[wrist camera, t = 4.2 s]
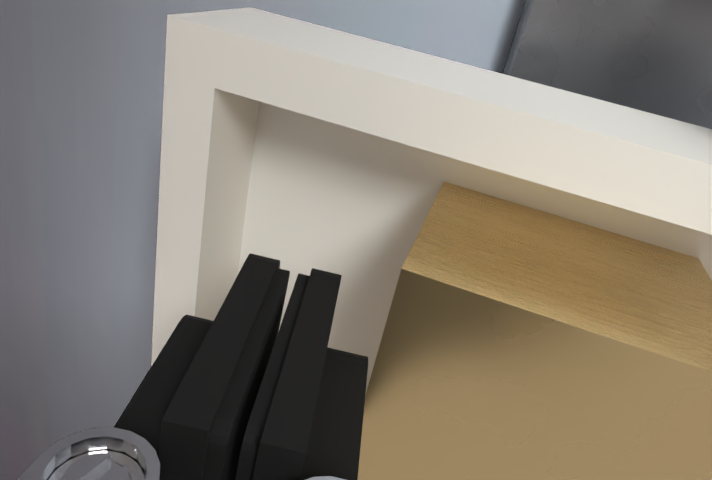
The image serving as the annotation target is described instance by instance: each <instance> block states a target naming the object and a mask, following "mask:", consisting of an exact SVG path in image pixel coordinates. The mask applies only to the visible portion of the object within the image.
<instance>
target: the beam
mask: <svg viewBox="0 0 712 480" xmlns="http://www.w3.org/2000/svg"><path fill="white" fill-rule="evenodd" d="M443 182H447V183H451V184H454V185H457V186H461V187H464V188H467V189H471V190H474V191H477V192H481V193H484V194H487V195H491V196H494V197H497V198H501V199H504V200H507V201H510V202H514V203H517V204H520V205H524V206H527V207H530V208H534V209H537V210H540V211H544V212H547V213H550V214H554V215H557V216H560V217H563V218H567V219H570V220H573V221H577V222H580V223H583V224H587V225H590V226H593V227H597V228H600V229H603V230H607V231H610V232H613V233H616V234H620V235H623V236H626V237H630V238H633V239H636V240H640V241H643V242H646V243H650V244H653V245H656V246H660V247H663V248H666V249H669V250H673V251H676V252H679V253H683V254H686V255H689V256H693V257H696V258H699V259H700V261H701V263H702V265H703V266H704V268H705V270H706V272H707V274H708V275H709V277H710V279H711V281H712V129H709V128H705V127H701V126H697V125H694V124H690V123H686V122H682V121H679V120H675V119H671V118H667V117H663V116H660V115H656V114H652V113H648V112H645V111H641V110H637V109H633V108H629V107H626V106H622V105H618V104H614V103H611V102H607V101H603V100H599V99H596V98H592V97H588V96H584V95H580V94H577V93H573V92H569V91H565V90H562V89H558V88H554V87H550V86H546V85H543V84H539V83H535V82H531V81H528V80H524V79H520V78H516V77H513V76H509V75H505V74H501V73H497V72H494V71H490V70H486V69H482V68H479V67H475V66H471V65H467V64H463V63H460V62H456V61H452V60H448V59H445V58H441V57H437V56H433V55H430V54H426V53H422V52H418V51H414V50H411V49H407V48H403V47H399V46H396V45H392V44H388V43H384V42H380V41H377V40H373V39H369V38H365V37H362V36H358V35H354V34H350V33H347V32H343V31H339V30H335V29H331V28H328V27H324V26H320V25H316V24H313V23H309V22H305V21H301V20H298V19H294V18H290V17H286V16H282V15H279V14H275V13H271V12H267V11H264V10H260V9H256V8H252V7H248V8H237V9H226V10H215V11H203V12H192V13H181V14H169V15H167V30H166V52H165V74H164V96H163V118H162V139H161V161H160V183H159V205H158V227H157V248H156V270H155V292H154V314H153V336H152V358H151V367H152V365H153V363H154V362H155V360H156V358H157V357H158V355H159V354H160V352H161V350H162V349H163V347H164V345H165V344H166V342H167V341H168V339H169V337H170V336H171V334H172V333H173V331H174V329H175V328H176V326H177V324H178V323H179V321H180V320H181V319H182V317H183V316H185V315H191V316H195V317H199V318H203V319H208V320H212V321H214V319H215V317H216V316H217V314H218V312H219V310H220V308H221V306H222V304H223V302H224V300H225V298H226V297H227V295H228V293H229V291H230V289H231V287H232V285H233V283H234V281H235V279H236V278H237V276H238V274H239V272H240V270H241V268H242V266H243V264H244V262H245V260H246V259H247V257H248V255H249V254H250V253H251V254H255V255H260V256H264V257H268V258H272V259H276V260H280V269H284V270H288V271H290V276H289V281H288V286H287V291H286V296H285V301H284V306H283V311H282V316H281V321H280V326H281V323H282V320H283V317H284V314H285V311H286V308H287V305H288V302H289V299H290V296H291V294H292V291H293V288H294V285H295V282H296V279H297V276H298V273H300V274H304V275H308V276H310V273H311V270H312V268H314V269H318V270H323V271H327V272H331V273H335V274H340V275H342V277H341V282H340V287H339V292H338V297H337V302H336V307H335V312H334V317H333V322H332V327H331V332H330V337H329V342H328V348H332V349H337V350H341V351H345V352H349V353H354V354H358V355H362V356H367V357H368V372H367V383H366V391H367V388H368V384H369V381H370V377H371V374H372V370H373V367H374V363H375V360H376V356H377V353H378V349H379V346H380V342H381V339H382V335H383V331H384V328H385V324H386V321H387V317H388V314H389V310H390V307H391V303H392V300H393V296H394V293H395V289H396V286H397V282H398V279H399V275H400V272H401V268H402V266H403V264H404V262H405V260H406V258H407V256H408V254H409V252H410V250H411V248H412V246H413V244H414V242H415V240H416V238H417V235H418V233H419V231H420V229H421V227H422V225H423V223H424V221H425V219H426V217H427V215H428V213H429V211H430V209H431V207H432V205H433V203H434V201H435V199H436V196H437V194H438V192H439V190H440V188H441V186H442V184H443ZM280 326H279V329H280ZM278 332H279V331H278ZM365 395H366V393H365Z"/></svg>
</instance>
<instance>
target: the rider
mask: <svg viewBox="0 0 712 480" xmlns="http://www.w3.org/2000/svg"><path fill="white" fill-rule="evenodd" d="M357 480H712V281H711V279H710V277H709V275H708V274H707V272H706V270H705V268H704V266H703V265H702V263H701V261H700V259H699V258H696V257H693V256H689V255H686V254H683V253H679V252H676V251H673V250H669V249H666V248H663V247H660V246H656V245H653V244H650V243H646V242H643V241H640V240H636V239H633V238H630V237H626V236H623V235H620V234H616V233H613V232H610V231H607V230H603V229H600V228H597V227H593V226H590V225H587V224H583V223H580V222H577V221H573V220H570V219H567V218H563V217H560V216H557V215H554V214H550V213H547V212H544V211H540V210H537V209H534V208H530V207H527V206H524V205H520V204H517V203H514V202H510V201H507V200H504V199H501V198H497V197H494V196H491V195H487V194H484V193H481V192H477V191H474V190H471V189H467V188H464V187H461V186H457V185H454V184H451V183H447V182H443V184H442V186H441V188H440V190H439V192H438V194H437V196H436V199H435V201H434V203H433V205H432V207H431V209H430V211H429V213H428V215H427V217H426V219H425V221H424V223H423V225H422V227H421V229H420V231H419V233H418V235H417V238H416V240H415V242H414V244H413V246H412V248H411V250H410V252H409V254H408V256H407V258H406V260H405V262H404V264H403V266H402V268H401V272H400V275H399V279H398V282H397V286H396V289H395V293H394V296H393V300H392V303H391V307H390V310H389V314H388V317H387V321H386V324H385V328H384V331H383V335H382V339H381V342H380V346H379V349H378V353H377V356H376V360H375V363H374V367H373V370H372V374H371V377H370V381H369V384H368V388H367V391H366V395H365V404H364V415H363V426H362V436H361V447H360V458H359V469H358V479H357Z"/></svg>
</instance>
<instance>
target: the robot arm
mask: <svg viewBox="0 0 712 480" xmlns="http://www.w3.org/2000/svg"><path fill="white" fill-rule="evenodd" d="M289 276H290V271H288V270H284V269H280V260H276V259H272V258H268V257H264V256H260V255H255V254H251V253H250V254H249V255H248V257H247V259H246V260H245V262H244V264H243V266H242V268H241V270H240V272H239V274H238V276H237V278H236V279H235V281H234V283H233V285H232V287H231V289H230V291H229V293H228V295H227V297H226V298H225V300H224V302H223V304H222V306H221V308H220V310H219V312H218V314H217V316H216V317H215V319H214V321H212V320H208V319H203V318H199V317H195V316H191V315H185V316H183V317H182V319H181V320H180V321H179V323H178V324H177V326H176V328H175V329H174V331H173V333H172V334H171V336H170V337H169V339H168V341H167V342H166V344H165V345H164V347H163V349H162V350H161V352H160V354H159V355H158V357H157V358H156V360H155V362H154V363H153V365H152V367H151V368H150V370H149V371H148V373H147V375H146V376H145V378H144V379H143V381H142V383H141V384H140V386H139V388H138V389H137V391H136V392H135V394H134V396H133V397H132V399H131V400H130V402H129V404H128V405H127V407H126V409H125V410H124V412H123V413H122V415H121V417H120V418H119V420H118V422H117V423H116V425H115V426H114V427H104V428H91V429H87V430H83V431H79V432H75V433H73V434H71V435H69V436H67V437H65V438H62V439H60V440H58V441H56V442H55V443H54V444H53V445H51V446H50V447H49V448H48V449H46V450H45V451H44V452H43V453H41V454H40V455H39V456H38V457H37V458H36V459H35V460H34V462H33V463H32V464H31V465H30V466H29V467H28V468H27V469H26V470H25V471H24V472H23V473H22V474H21V475H20V476H19V477H18V478H17V479H16V480H357V479H358V469H359V458H360V447H361V436H362V426H363V415H364V404H365V393H366V383H367V372H368V357H367V356H362V355H358V354H354V353H349V352H345V351H341V350H337V349H332V348H328V342H329V337H330V332H331V327H332V322H333V317H334V312H335V307H336V302H337V297H338V292H339V287H340V282H341V277H342V275H340V274H335V273H331V272H327V271H323V270H318V269H314V268H312V270H311V273H310V276H308V275H304V274H300V273H298V276H297V279H296V282H295V285H294V288H293V291H292V294H291V296H290V299H289V302H288V305H287V308H286V311H285V314H284V317H283V320H282V323H281V326H280V321H281V316H282V311H283V306H284V301H285V296H286V291H287V286H288V281H289ZM279 326H280V329H279ZM278 331H279V332H278Z"/></svg>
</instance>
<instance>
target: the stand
mask: <svg viewBox="0 0 712 480" xmlns="http://www.w3.org/2000/svg"><path fill="white" fill-rule="evenodd" d="M503 74H505V75H509V76H513V77H516V78H520V79H524V80H528V81H531V82H535V83H539V84H543V85H546V86H550V87H554V88H558V89H562V90H565V91H569V92H573V93H577V94H580V95H584V96H588V97H592V98H596V99H599V100H603V101H607V102H611V103H614V104H618V105H622V106H626V107H629V108H633V109H637V110H641V111H645V112H648V113H652V114H656V115H660V116H663V117H667V118H671V119H675V120H679V121H682V122H686V123H690V124H694V125H697V126H701V127H705V128H709V129H712V0H526V2H525V5H524V8H523V12H522V15H521V18H520V21H519V24H518V27H517V30H516V33H515V36H514V40H513V43H512V46H511V49H510V52H509V55H508V58H507V61H506V64H505V67H504V71H503Z"/></svg>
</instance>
